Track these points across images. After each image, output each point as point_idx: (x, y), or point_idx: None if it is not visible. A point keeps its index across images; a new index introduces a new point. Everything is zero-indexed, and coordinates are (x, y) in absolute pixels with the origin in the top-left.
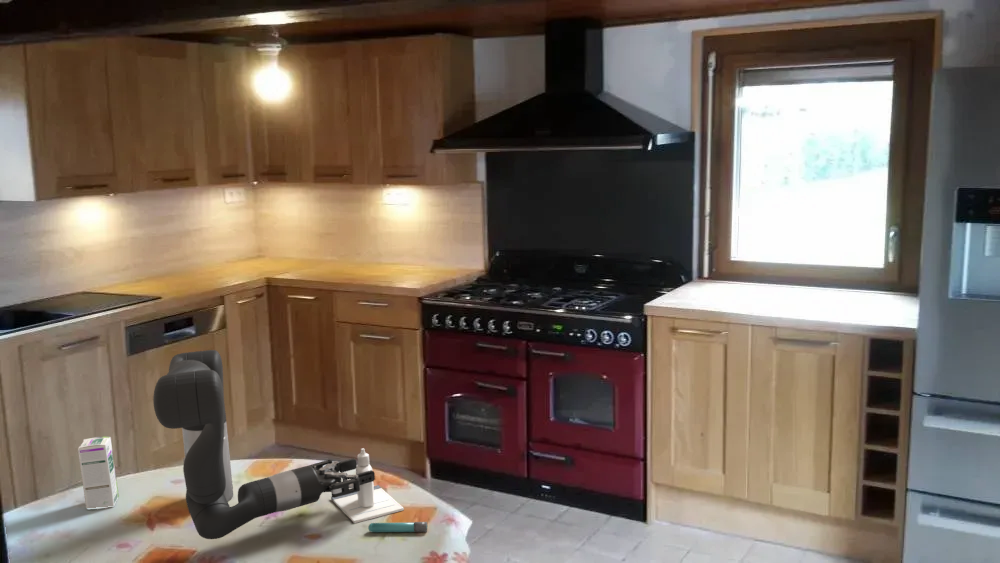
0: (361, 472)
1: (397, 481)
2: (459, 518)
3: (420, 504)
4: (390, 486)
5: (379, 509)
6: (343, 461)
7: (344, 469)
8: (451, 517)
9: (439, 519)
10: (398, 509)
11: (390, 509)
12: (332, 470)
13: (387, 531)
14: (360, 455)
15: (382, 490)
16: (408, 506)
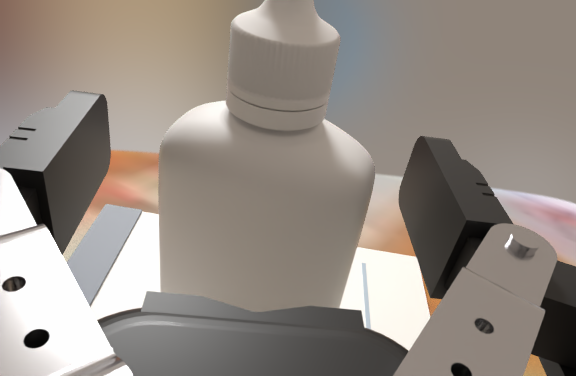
0: (350, 182)
1: (126, 155)
2: (560, 200)
3: (390, 209)
4: (143, 186)
5: (378, 332)
6: (42, 143)
7: (69, 215)
8: (545, 208)
9: (552, 234)
10: (421, 277)
11: (406, 298)
12: (163, 325)
13: None
14: (301, 29)
15: None
16: (384, 238)
